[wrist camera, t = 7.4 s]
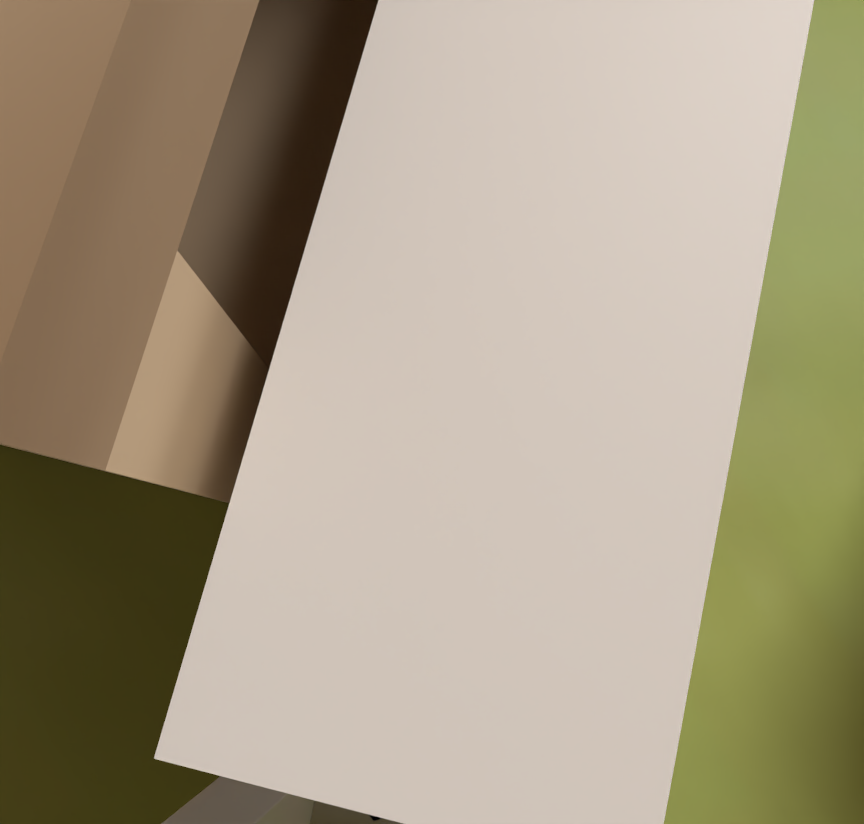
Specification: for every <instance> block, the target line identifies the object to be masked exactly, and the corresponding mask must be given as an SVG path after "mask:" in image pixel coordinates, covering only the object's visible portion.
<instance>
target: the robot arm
mask: <svg viewBox="0 0 864 824" xmlns="http://www.w3.org/2000/svg"><path fill="white" fill-rule="evenodd" d="M161 824H403V823H399V822H396V821H392V820H388V819H384V818H380V817H376V816H372V815H369V814H365V813H361V812H357V811H353V810H349V809H345V808H342V807H338V806H334V805H330V804H326V803H322V802H319V801H315V800H311V799H307V798H303V797H299V796H295V795H292V794H288V793H284V792H280V791H276V790H272V789H269V788H265V787H261V786H257V785H253V784H249V783H245V782H242V781H238V780H234V779H230V778H226V777H222V776H220V777H219V778H217V779H216V780H215V781H214V782H212V783H211V784H210V785H209V786H207V787H206V788H205V789H204V790H202V791H201V792H200V793H199V794H197V795H196V796H195V797H194V798H192V799H191V800H190V801H189V802H187V803H186V804H185V805H184V806H182V807H181V808H180V809H179V810H177V811H176V812H175V813H174V814H172V815H171V816H170V817H169V818H167V819H166V820H165V821H164V822H162V823H161Z"/></svg>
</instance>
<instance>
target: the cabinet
mask: <svg viewBox="0 0 864 824" xmlns="http://www.w3.org/2000/svg"><path fill="white" fill-rule="evenodd" d="M377 3H378V0H0V445H3V446H7V447H11V448H15V449H19V450H23V451H27V452H31V453H34V454H38V455H42V456H46V457H50V458H54V459H58V460H62V461H66V462H70V463H74V464H78V465H82V466H85V467H89V468H93V469H97V470H101V471H105V472H109V473H113V474H117V475H121V476H125V477H129V478H133V479H136V480H140V481H144V482H148V483H152V484H156V485H160V486H164V487H168V488H172V489H176V490H180V491H184V492H187V493H191V494H195V495H199V496H203V497H207V498H211V499H215V500H219V501H223V502H227V503H230V500H231V496H232V493H233V489H234V486H235V483H236V479H237V476H238V473H239V469H240V466H241V462H242V459H243V456H244V452H245V449H246V446H247V442H248V439H249V435H250V432H251V429H252V425H253V422H254V419H255V415H256V412H257V408H258V405H259V402H260V398H261V395H262V392H263V388H264V385H265V381H266V378H267V375H268V371H269V368H270V365H271V361H272V358H273V354H274V351H275V348H276V344H277V341H278V338H279V334H280V331H281V327H282V324H283V321H284V317H285V314H286V311H287V307H288V304H289V300H290V297H291V294H292V290H293V287H294V284H295V280H296V277H297V273H298V270H299V267H300V263H301V260H302V257H303V253H304V250H305V246H306V243H307V240H308V236H309V233H310V230H311V226H312V223H313V219H314V216H315V213H316V209H317V206H318V203H319V199H320V196H321V192H322V189H323V186H324V182H325V179H326V176H327V172H328V169H329V165H330V162H331V159H332V155H333V152H334V149H335V145H336V142H337V138H338V135H339V132H340V128H341V125H342V122H343V118H344V115H345V111H346V108H347V105H348V101H349V98H350V95H351V91H352V88H353V84H354V81H355V78H356V74H357V71H358V68H359V64H360V61H361V57H362V54H363V51H364V47H365V44H366V41H367V37H368V34H369V30H370V27H371V24H372V20H373V17H374V14H375V10H376V7H377Z"/></svg>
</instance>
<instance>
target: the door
mask: <svg viewBox="0 0 864 824" xmlns="http://www.w3.org/2000/svg"><path fill="white" fill-rule="evenodd" d="M813 3H814V0H378V3H377V7H376V10H375V14H374V17H373V20H372V24H371V27H370V30H369V34H368V37H367V41H366V44H365V47H364V51H363V54H362V57H361V61H360V64H359V68H358V71H357V74H356V78H355V81H354V84H353V88H352V91H351V95H350V98H349V101H348V105H347V108H346V111H345V115H344V118H343V122H342V125H341V128H340V132H339V135H338V138H337V142H336V145H335V149H334V152H333V155H332V159H331V162H330V165H329V169H328V172H327V176H326V179H325V182H324V186H323V189H322V192H321V196H320V199H319V203H318V206H317V209H316V213H315V216H314V219H313V223H312V226H311V230H310V233H309V236H308V240H307V243H306V246H305V250H304V253H303V257H302V260H301V263H300V267H299V270H298V273H297V277H296V280H295V284H294V287H293V290H292V294H291V297H290V300H289V304H288V307H287V311H286V314H285V317H284V321H283V324H282V327H281V331H280V334H279V338H278V341H277V344H276V348H275V351H274V354H273V358H272V361H271V365H270V368H269V371H268V375H267V378H266V381H265V385H264V388H263V392H262V395H261V398H260V402H259V405H258V408H257V412H256V415H255V419H254V422H253V425H252V429H251V432H250V435H249V439H248V442H247V446H246V449H245V452H244V456H243V459H242V462H241V466H240V469H239V473H238V476H237V479H236V483H235V486H234V489H233V493H232V496H231V500H230V503H229V506H228V510H227V513H226V516H225V520H224V523H223V527H222V530H221V533H220V537H219V540H218V543H217V547H216V550H215V554H214V557H213V560H212V564H211V567H210V570H209V574H208V577H207V581H206V584H205V587H204V591H203V594H202V597H201V601H200V604H199V608H198V611H197V614H196V618H195V621H194V624H193V628H192V631H191V635H190V638H189V641H188V645H187V648H186V651H185V655H184V658H183V662H182V665H181V668H180V672H179V675H178V678H177V682H176V685H175V689H174V692H173V695H172V699H171V702H170V705H169V709H168V712H167V716H166V719H165V722H164V726H163V729H162V732H161V736H160V739H159V743H158V746H157V749H156V753H155V756H154V759H157V760H161V761H165V762H169V763H172V764H176V765H180V766H184V767H188V768H192V769H195V770H199V771H203V772H207V773H211V774H215V775H219V776H222V777H226V778H230V779H234V780H238V781H242V782H245V783H249V784H253V785H257V786H261V787H265V788H269V789H272V790H276V791H280V792H284V793H288V794H292V795H295V796H299V797H303V798H307V799H311V800H315V801H319V802H322V803H326V804H330V805H334V806H338V807H342V808H345V809H349V810H353V811H357V812H361V813H365V814H369V815H372V816H376V817H380V818H384V819H388V820H392V821H396V822H399V823H403V824H664V819H665V813H666V808H667V802H668V797H669V791H670V786H671V780H672V775H673V769H674V764H675V759H676V753H677V748H678V742H679V737H680V731H681V726H682V720H683V715H684V709H685V704H686V698H687V693H688V687H689V682H690V676H691V671H692V666H693V660H694V655H695V649H696V644H697V638H698V633H699V627H700V622H701V616H702V611H703V605H704V600H705V594H706V589H707V583H708V578H709V572H710V567H711V562H712V556H713V551H714V545H715V540H716V534H717V529H718V523H719V518H720V512H721V507H722V501H723V496H724V490H725V485H726V479H727V474H728V469H729V463H730V458H731V452H732V447H733V441H734V436H735V430H736V425H737V419H738V414H739V408H740V403H741V397H742V392H743V386H744V381H745V376H746V370H747V365H748V359H749V354H750V348H751V343H752V337H753V332H754V326H755V321H756V315H757V310H758V304H759V299H760V293H761V288H762V282H763V277H764V272H765V266H766V261H767V255H768V250H769V244H770V239H771V233H772V228H773V222H774V217H775V211H776V206H777V200H778V195H779V189H780V184H781V179H782V173H783V168H784V162H785V157H786V151H787V146H788V140H789V135H790V129H791V124H792V118H793V113H794V107H795V102H796V96H797V91H798V86H799V80H800V75H801V69H802V64H803V58H804V53H805V47H806V42H807V36H808V31H809V25H810V20H811V14H812V9H813Z"/></svg>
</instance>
